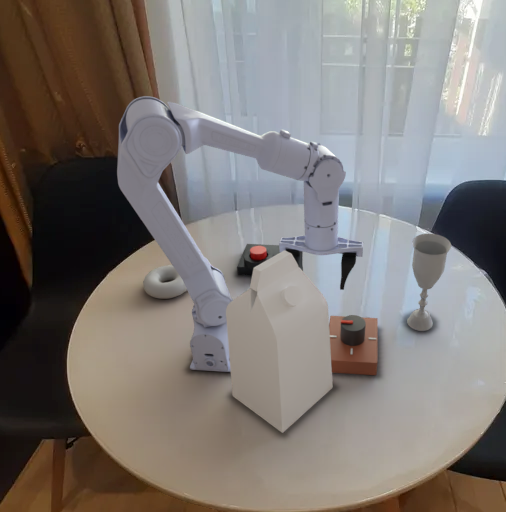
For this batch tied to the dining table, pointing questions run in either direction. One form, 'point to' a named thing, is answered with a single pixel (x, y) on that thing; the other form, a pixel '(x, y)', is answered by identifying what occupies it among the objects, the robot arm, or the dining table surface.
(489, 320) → the dining table surface
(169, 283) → the donut
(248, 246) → the control box
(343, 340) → the timer knob
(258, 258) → the button
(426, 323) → the chalice
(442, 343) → the dining table surface
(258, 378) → the milk
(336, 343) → the timer panel
